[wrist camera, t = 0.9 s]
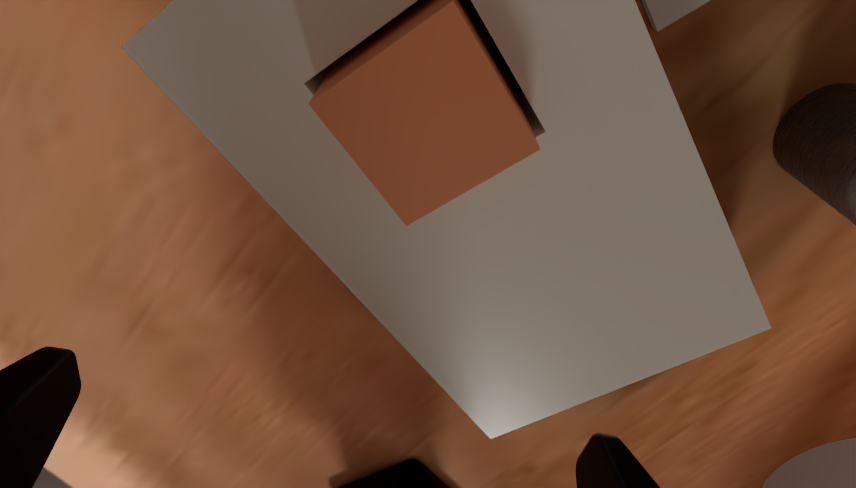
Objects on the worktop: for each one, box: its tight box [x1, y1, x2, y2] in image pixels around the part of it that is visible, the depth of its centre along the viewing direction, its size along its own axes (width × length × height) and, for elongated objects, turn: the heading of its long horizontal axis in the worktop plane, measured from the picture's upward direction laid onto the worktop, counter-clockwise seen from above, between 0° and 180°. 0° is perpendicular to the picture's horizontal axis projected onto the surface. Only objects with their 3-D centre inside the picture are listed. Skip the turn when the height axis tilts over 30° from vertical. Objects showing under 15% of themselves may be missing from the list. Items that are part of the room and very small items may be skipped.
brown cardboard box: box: [309, 0, 540, 226], centre depth 15 cm, size 4×4×4 cm
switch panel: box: [121, 0, 771, 439], centre depth 19 cm, size 20×12×4 cm, turn 34°
